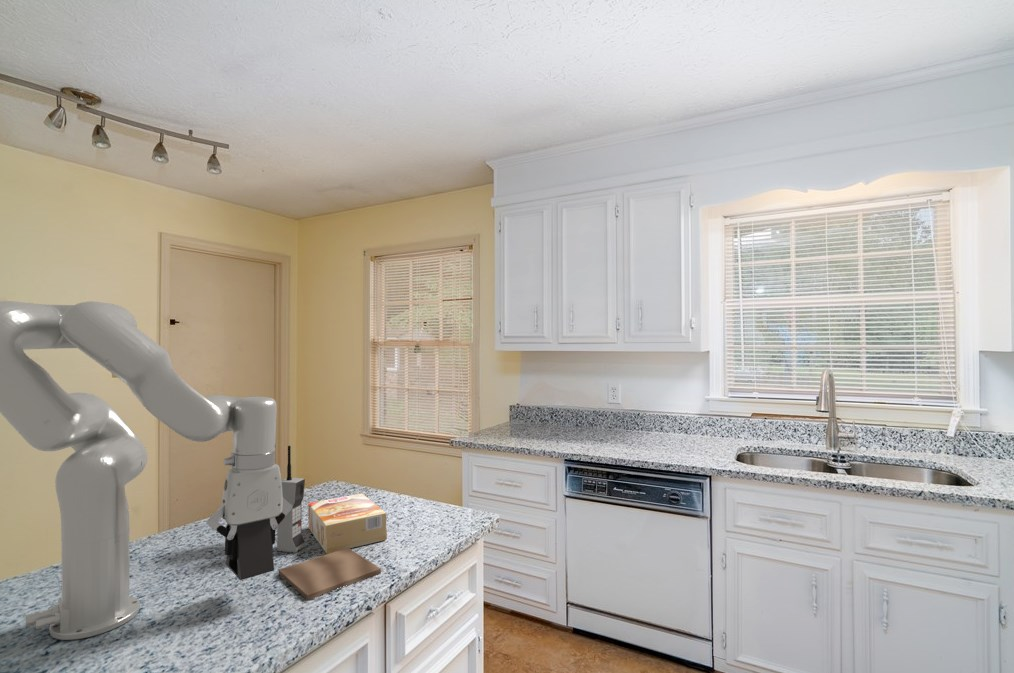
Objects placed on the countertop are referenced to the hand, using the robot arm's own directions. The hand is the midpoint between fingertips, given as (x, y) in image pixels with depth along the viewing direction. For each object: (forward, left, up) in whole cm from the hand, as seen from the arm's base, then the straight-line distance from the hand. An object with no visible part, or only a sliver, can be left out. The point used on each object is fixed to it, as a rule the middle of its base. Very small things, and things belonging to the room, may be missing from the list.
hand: (250, 552), depth 98 cm
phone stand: (0, 0, -3) cm, 3 cm away
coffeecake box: (+27, +7, -6) cm, 28 cm away
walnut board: (+16, -1, -9) cm, 18 cm away
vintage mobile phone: (+15, +18, -9) cm, 25 cm away
